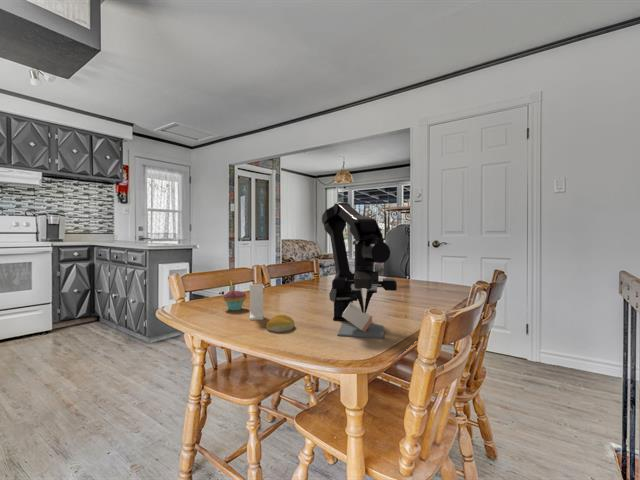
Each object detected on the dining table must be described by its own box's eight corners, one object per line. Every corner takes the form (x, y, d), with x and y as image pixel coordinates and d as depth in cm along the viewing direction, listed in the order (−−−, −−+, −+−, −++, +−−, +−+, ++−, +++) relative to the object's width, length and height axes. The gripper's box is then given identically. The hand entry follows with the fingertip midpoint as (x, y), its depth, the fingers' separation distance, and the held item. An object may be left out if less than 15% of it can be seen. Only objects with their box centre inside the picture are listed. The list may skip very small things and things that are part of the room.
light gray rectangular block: (249, 320, 114) (249, 284, 114) (250, 315, 120) (249, 282, 119) (263, 319, 115) (263, 284, 114) (263, 315, 121) (263, 281, 120)
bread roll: (263, 332, 101) (263, 319, 100) (272, 324, 109) (272, 312, 109) (290, 333, 99) (289, 320, 99) (297, 325, 108) (297, 313, 108)
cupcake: (219, 311, 127) (219, 279, 127) (229, 306, 135) (229, 276, 135) (241, 311, 125) (241, 279, 125) (249, 306, 134) (249, 276, 134)
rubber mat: (337, 335, 96) (337, 334, 96) (342, 325, 107) (342, 323, 107) (383, 338, 94) (383, 336, 94) (383, 327, 105) (383, 325, 105)
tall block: (364, 332, 98) (341, 316, 99) (365, 327, 103) (343, 312, 104) (372, 321, 97) (349, 305, 99) (372, 317, 102) (350, 301, 103)
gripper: (329, 262, 94) (329, 318, 94) (397, 263, 90) (397, 320, 91) (334, 259, 105) (334, 309, 105) (395, 259, 101) (395, 311, 102)
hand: (364, 312), depth 100 cm, fingers closed
